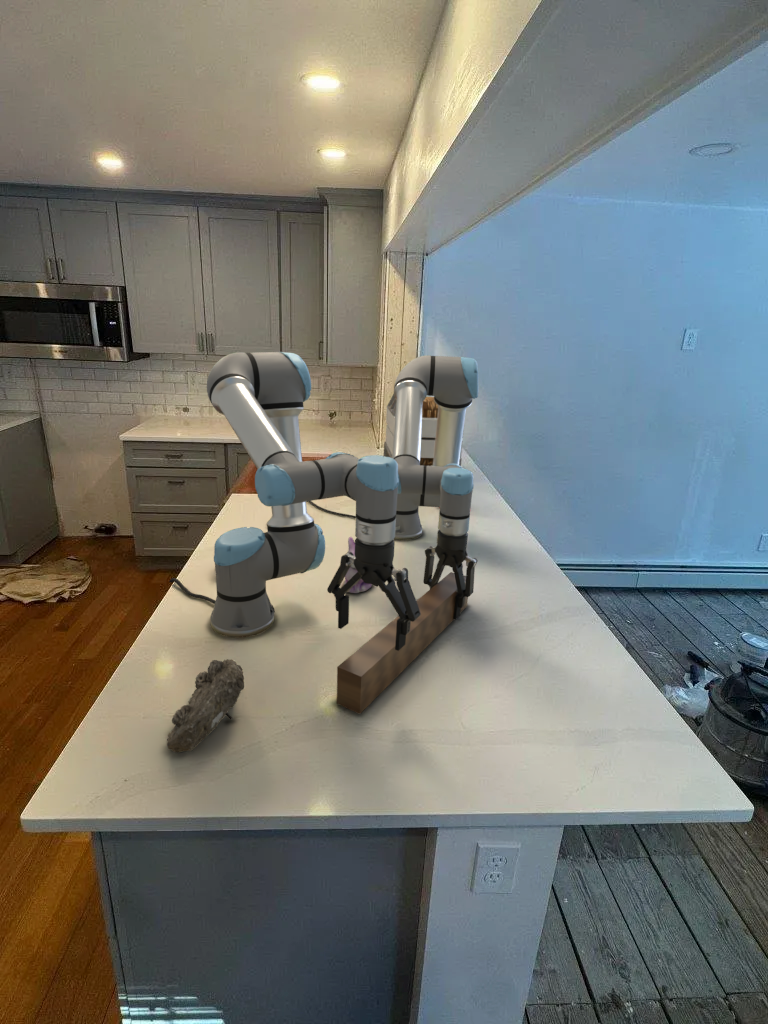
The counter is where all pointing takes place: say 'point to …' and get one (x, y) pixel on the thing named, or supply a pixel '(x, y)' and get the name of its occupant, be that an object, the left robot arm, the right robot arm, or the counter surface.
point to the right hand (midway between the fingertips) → (445, 613)
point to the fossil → (206, 705)
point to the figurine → (352, 571)
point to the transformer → (426, 433)
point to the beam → (378, 656)
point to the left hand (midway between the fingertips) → (370, 636)
